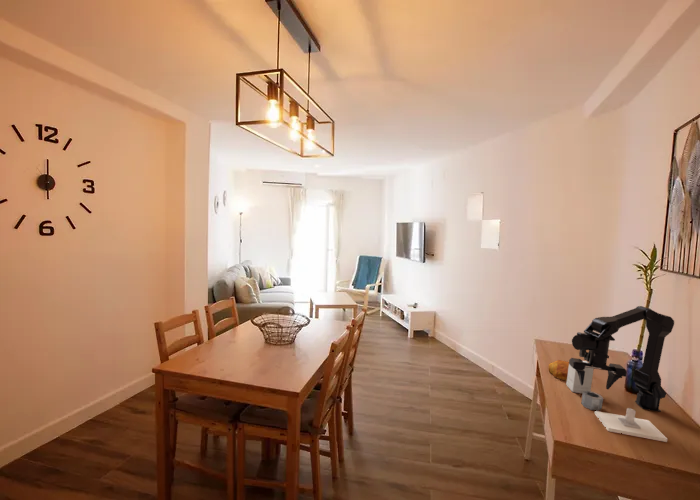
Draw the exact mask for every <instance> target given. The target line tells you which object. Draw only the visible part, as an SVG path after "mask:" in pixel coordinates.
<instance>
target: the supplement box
mask: <svg viewBox="0 0 700 500" xmlns="http://www.w3.org/2000/svg"><path fill="white" fill-rule="evenodd" d="M582 361H583V362H586V363H589V362H587V361H586V360H582ZM583 370H584V371H585V376H584V383H583V385H581V384H580V380H579V376H578V373H577V371H576V370H575V369H574V368H572V366H571V365H570V364H569V368H568V375H567V381H566V384H565V385H566V386H567V388H569V390H570V391H571V392H572V393H576V394H583V392H584V391H591V392H592V383H593V377H594V369H593V368H587V367H585V369H583Z"/></svg>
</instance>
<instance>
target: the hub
mask: <svg viewBox="0 0 700 500" xmlns="http://www.w3.org/2000/svg"><path fill="white" fill-rule="evenodd" d="M581 394H582V393H581ZM603 403H604V397H603V396H602V395H601V394H599V393H597V392H595V391H592V390H591V391H584V392H583V394H582V395H581V405H582V406H583V407H584V408H586V409H587V410H590V411H594V410H596V411H599V410H600V411H602V410H603V409H602V408H603ZM601 409H602V410H601ZM600 411H599V412H600Z"/></svg>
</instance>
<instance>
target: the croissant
mask: <svg viewBox="0 0 700 500" xmlns="http://www.w3.org/2000/svg"><path fill="white" fill-rule="evenodd" d="M568 368H569V361H565V360H562V359H561V360H560V359H557V360H555V361H553V362H551V363H549V364H548V367H547V369H548V372H549V373H550V374H551V375H552V376H553V378H556V379H558V380H561V381H566V382H567V375H568Z"/></svg>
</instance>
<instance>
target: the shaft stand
mask: <svg viewBox="0 0 700 500" xmlns="http://www.w3.org/2000/svg"><path fill="white" fill-rule="evenodd" d="M594 415H595V416H596V418H597V419H598V418H599V419H598V420H599V422H600V423H601V422H602V423H601V424H602V425H603V427H604V428H605V427H606V428H605V429H606V430H607V431H608V432H611V433H615V434H621V433H622V434H621V435H628V436H632V437H638V438H645V439H649V440H654V441H660V442H665V443H668V437H666V436H665V435H664V434H663V433H662V432H661V431H660V430H659V429H658V428H657V427H656V426H655V425H654V424H653V423H652V422H651V421H650V420H649V419H643V418H640V417H639V418H637V417H636V409H633V408H631V407H626V412H625V415H623V414H622V415H621V414H617V413H616V414H615V413H609V412H603V411H594Z"/></svg>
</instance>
